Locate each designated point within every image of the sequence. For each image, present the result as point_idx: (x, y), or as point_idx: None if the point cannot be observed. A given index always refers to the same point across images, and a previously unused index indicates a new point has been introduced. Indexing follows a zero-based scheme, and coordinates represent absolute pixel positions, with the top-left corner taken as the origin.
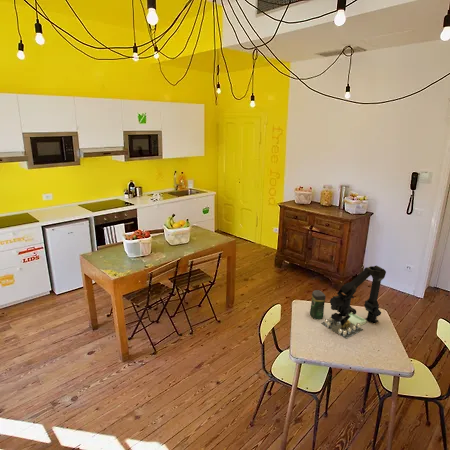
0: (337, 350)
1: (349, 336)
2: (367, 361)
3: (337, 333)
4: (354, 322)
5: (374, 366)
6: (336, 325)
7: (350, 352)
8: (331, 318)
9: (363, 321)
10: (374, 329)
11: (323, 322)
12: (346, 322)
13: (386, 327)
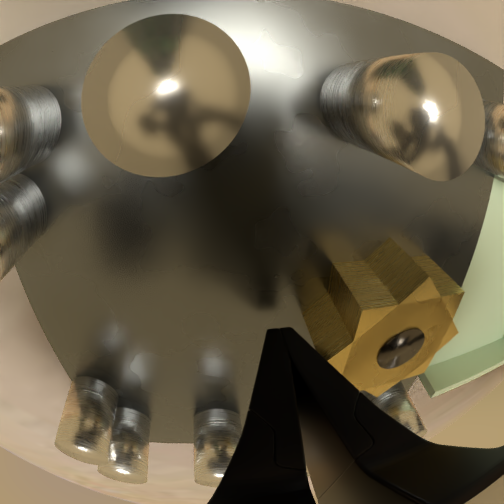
0: (4, 424)
1: (175, 438)
2: (122, 492)
3: (70, 375)
4: (475, 310)
5: (131, 500)
6: (204, 249)
7: (73, 461)
8: (115, 131)
9: (493, 367)
10: (446, 399)
11: (38, 37)
12: (374, 369)
13: (488, 389)
